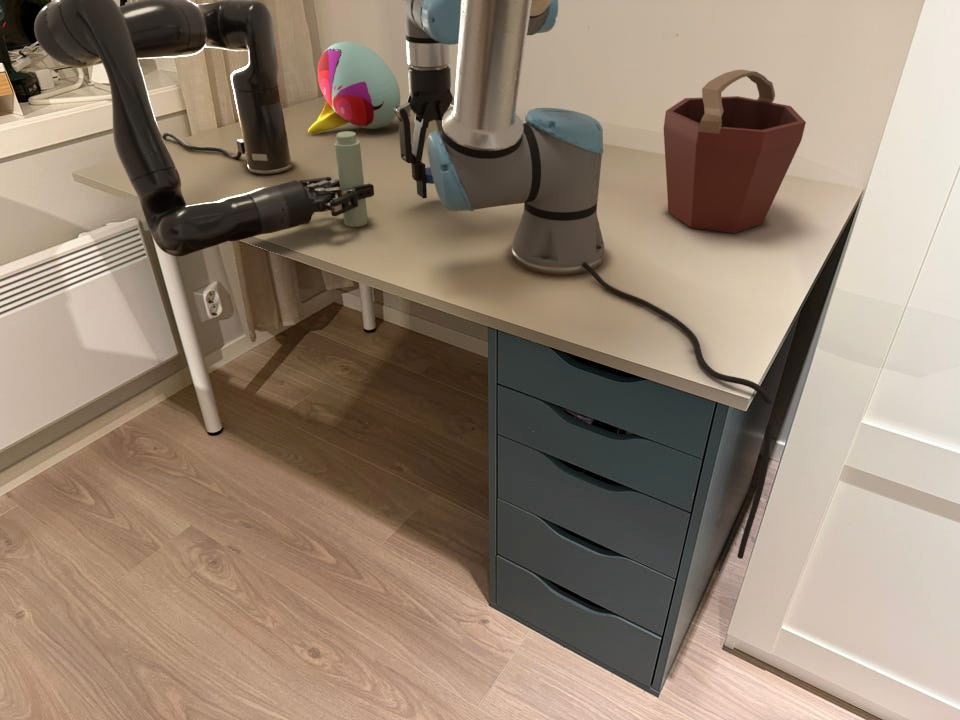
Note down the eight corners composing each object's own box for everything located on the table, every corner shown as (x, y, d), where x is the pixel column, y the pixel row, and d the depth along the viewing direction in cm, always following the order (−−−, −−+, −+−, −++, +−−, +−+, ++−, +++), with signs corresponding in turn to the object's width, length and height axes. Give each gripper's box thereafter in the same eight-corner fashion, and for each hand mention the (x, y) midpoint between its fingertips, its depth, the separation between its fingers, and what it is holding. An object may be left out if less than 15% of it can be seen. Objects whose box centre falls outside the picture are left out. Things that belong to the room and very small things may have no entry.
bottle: (346, 217, 132) (335, 130, 123) (369, 217, 132) (360, 130, 123) (342, 227, 128) (331, 137, 119) (366, 226, 128) (356, 137, 119)
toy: (277, 110, 181) (275, 51, 163) (352, 72, 191) (358, 13, 173) (336, 175, 178) (341, 122, 160) (410, 134, 188) (421, 79, 170)
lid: (436, 185, 132) (435, 177, 131) (416, 180, 134) (416, 172, 133) (450, 178, 135) (450, 169, 134) (431, 173, 138) (430, 165, 137)
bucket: (710, 250, 119) (740, 96, 105) (622, 208, 134) (638, 69, 120) (804, 218, 129) (843, 75, 115) (713, 183, 145) (736, 53, 131)
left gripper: (292, 198, 113) (384, 175, 121) (256, 175, 122) (344, 155, 131) (299, 242, 117) (388, 216, 125) (264, 215, 126) (349, 194, 135)
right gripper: (462, 56, 129) (464, 178, 143) (373, 67, 122) (384, 195, 135) (483, 64, 124) (483, 190, 137) (391, 76, 117) (401, 208, 130)
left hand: (365, 185), depth 128 cm, fingers closed on bottle, 4 cm apart
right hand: (434, 192), depth 136 cm, fingers closed on lid, 5 cm apart
